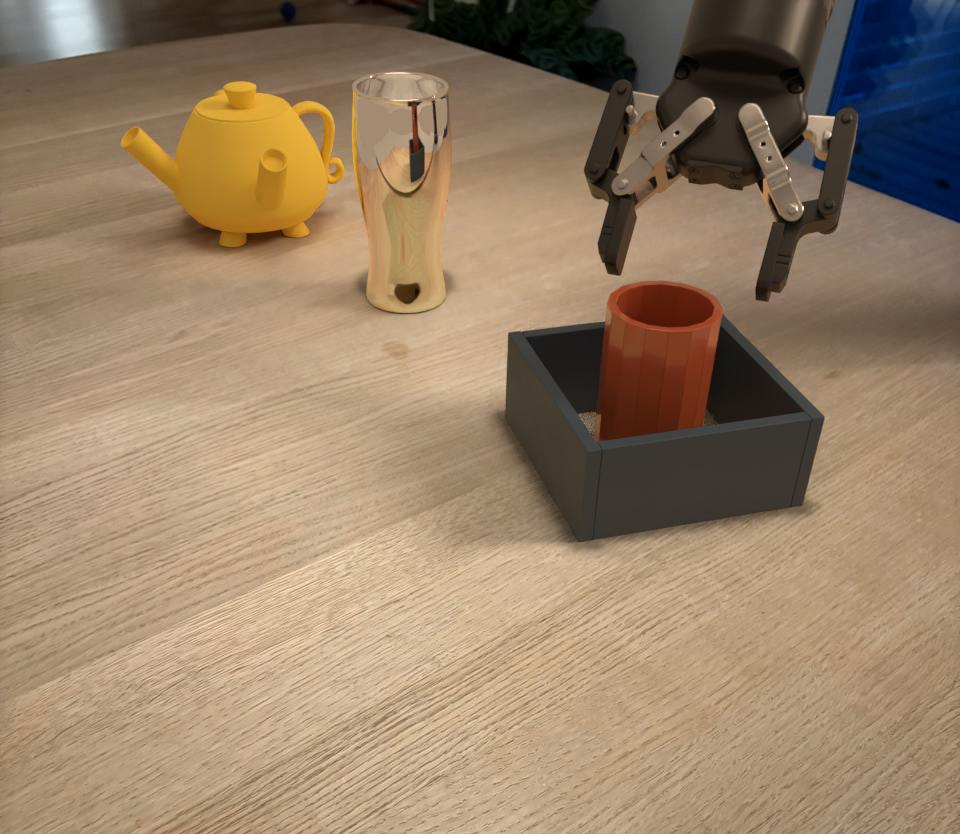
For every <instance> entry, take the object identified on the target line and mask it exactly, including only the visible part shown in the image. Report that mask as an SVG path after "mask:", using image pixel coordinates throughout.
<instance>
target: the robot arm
mask: <svg viewBox="0 0 960 834" xmlns="http://www.w3.org/2000/svg"><path fill="white" fill-rule="evenodd" d="M834 7H835V0H693V2H692V6H691V9H690V13H689V17H688V20H687V24H686V28H685V30H684V34H683V38H682V42H681V46H680V49H679V53H678V56H677V61H676V63H675V67H674V71H673V75H672V78H671V80H670V82H669V84H668V85H667V87H666V88H665V89H664V90H663V91H662V92H661V93H660V94H659V95H657V94H652V93H647V92H642V91H637V90H634V89H633V85H632V82H631V81H629V80H628V79H626V78H621V79H618V80H616V81H614V83H613V84H612V85H611V88H610V91H609V93H608V97H607V99H606V103H605V106H604V109H603V112H602V114H601V117H600V120H599V123H598V126H597V129H596V132H595V134H594V138H593V141H592V144H591V146H590V149H589V152H588V155H587V157H586V161H585V164H584V168H583V173H584V177H585V180H586V183H587V185H588V188H589V192H590V194H591V196H592V197H593V198H594V199H596V200H603V201H605V202H606V203H608V205H607V207H606V210H605V215H604V219H603V223H602V226H601V230H600V234H599V236H598V241H597V250H598V254H599V258H600V260H601V263H602V264H604V267H605V270H606V273H607V275H611V276H618V277H620V276H621V275H622V273H623V270H624V267H625V263H626V260H627V257H628V256H627V255H628V251H629V248H630V245H631V241H632V237H633V233H634V230H635V226H636V223H637V219H638V215H637V210H638V209H639V208H641V206H643V205H644V204H645V203H646V202H647V201H649V200H650V199H651V198H652V197H653V196H655V195H656V194H662V193H663V192H665V191H666V190H667V189H669V187H671V186H672V185H673V184H674V183H676V182H677V181H678V180H680V178H682V177H684V178H685V179H687V182H688V184H693V185H699V186H704V185H705V186H706V185H715V184H717V185H718V186H722V187H724V188H726V189H728V190H732V191H733V190H735V191H741V192H743V190H744V188H745V187H751V186H753V185H755V186H756V188H757V190H758V192H759V195H760V197H761V199H762V201H763V203H764V205H765V207H766V209H767V210H768V211H769V212H770V214H771V216H772V219H773V221H772V224H771V228H770V232H769V234H768V237H767V242H766V246H765V249H764V254H763V256H762V261H761V265H760V268H759V271H758V276H757V279H756V283H755V289H754V295H755V301H759V302H765V303H769V302H770V299H771V296H772V293H774V294H775V293H776V294H781V292H782V291H783V290H784V288H785V287H786V286H787V282H788V279H789V275H790V271H791V268H792V264H793V261H794V257H795V253H796V251H797V250H796V249H797V246H798V243H799V241H800V240H801V239H802V238H803V237H804V236H806V235H809V234H814V233H819V234H821V235H825V236H826V235H831V234H833V233H834V232H835V231H836V230H837V229H838V226H839V222H840V217H841V213H842V208H843V202H844V198H845V194H846V188H847V183H848V179H849V174H850V169H851V163H852V158H853V155H854V149H855V143H856V137H857V132H858V131H857V130H858V122H859V113H858V112H857V110H856V109H855V108H853V107H843V108H841V109H839V110H838V111H837V112H836V114H835V115H821V114H809V113H808V110H807V106H806V103H807V98H808V96H809V92H810V88H811V84H812V80H813V77H814V73H815V70H816V66H817V64H818V63H817V62H818V58H819V55H820V51H821V48H822V44H823V40H824V38H825V33H826V29H827V25H828V23H829V22H830V19H831V16H832V15H833V11H834ZM652 120H656V121H657V126H658V128H659V131H660V133H659V134H658V135H657V136H656V137H654V139H652V140H651V141H650V142H649V143H647V145H645V146H644V147H643V148H642V150H641V151H640V154H639V156H638V157H637V159H635V160H634V161H632V163H630V164H629V165H628V166H627V167H626V168H624V170H622V171H621V172H620V173H618V171H619V168H620V166H621V165H620V164H621V162H622V159H623V156H624V153H625V150H626V147H627V144H628V141H629V138H630V136H631V135H632V136H637V134H638V133H640V132H641V131H642V129H643V127H644V125H645V124H646V123H648V122H649V121H652ZM805 140H808V141H809V142H811V143H812V144H813V146H814V155H815V157H816V158H817V159H818V160H820V161H823V162H825V164H824V168H823V173H822V177H821V179H822V180H821V183H820V187H819V188H820V189H819V194H818V198H816V199H810V200H805V201H802V200H801V198H800V196H799V193H798V191H797V189H796V187H795V185H794V183H793V180H792V178H791V175H790V171H789V168H788V165H787V163H786V162H785V159H787V157H788V156H790V155H791V154H792V153H793V152H794V151H795V150H797V149H798V148H799V147H800V146H801V145H802V144H803V143H804V142H805Z"/></svg>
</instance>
